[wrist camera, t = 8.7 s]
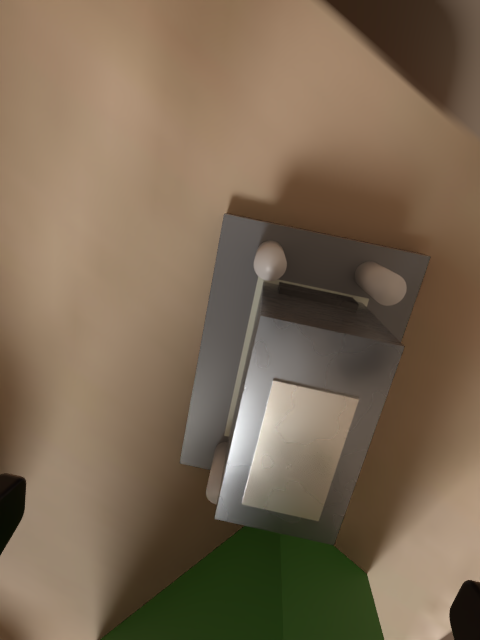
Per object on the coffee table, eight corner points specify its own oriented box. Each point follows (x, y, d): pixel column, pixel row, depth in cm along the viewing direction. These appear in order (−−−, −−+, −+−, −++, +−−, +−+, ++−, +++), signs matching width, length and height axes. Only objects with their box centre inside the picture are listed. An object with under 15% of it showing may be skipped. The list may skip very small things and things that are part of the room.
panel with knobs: (342, 486, 21) (359, 548, 17) (183, 451, 21) (164, 505, 17) (421, 253, 17) (465, 267, 13) (226, 213, 17) (214, 215, 13)
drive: (316, 452, 19) (334, 547, 14) (229, 433, 19) (214, 521, 14) (364, 297, 17) (408, 340, 11) (264, 276, 17) (262, 308, 11)
